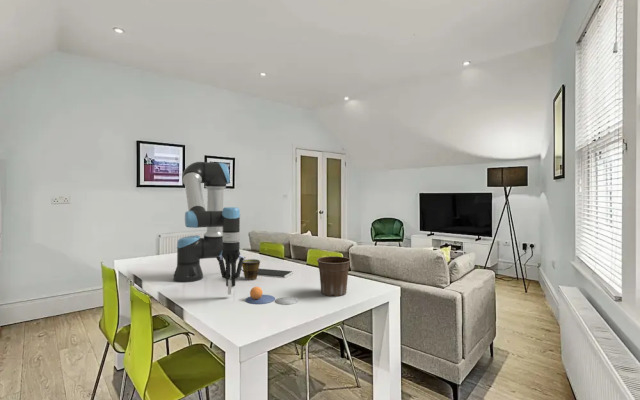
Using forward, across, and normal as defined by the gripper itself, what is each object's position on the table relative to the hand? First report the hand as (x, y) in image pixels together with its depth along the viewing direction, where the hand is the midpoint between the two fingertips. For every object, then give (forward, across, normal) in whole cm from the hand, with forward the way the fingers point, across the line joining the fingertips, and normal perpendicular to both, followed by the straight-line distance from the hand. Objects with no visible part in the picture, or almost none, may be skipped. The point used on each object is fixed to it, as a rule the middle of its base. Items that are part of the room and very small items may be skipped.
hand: (230, 293), depth 150 cm
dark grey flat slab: (+3, +3, +48) cm, 48 cm away
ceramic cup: (+2, -4, +33) cm, 33 cm away
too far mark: (+2, +26, 0) cm, 26 cm away
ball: (-1, +12, 0) cm, 12 cm away
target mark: (+2, +14, 0) cm, 14 cm away
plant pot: (+2, +45, +16) cm, 48 cm away
